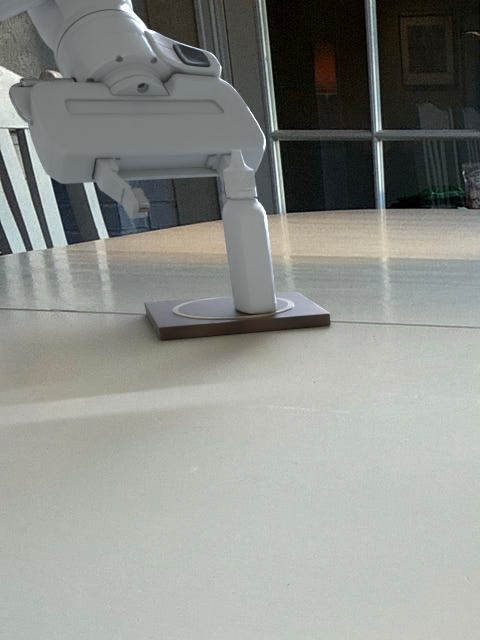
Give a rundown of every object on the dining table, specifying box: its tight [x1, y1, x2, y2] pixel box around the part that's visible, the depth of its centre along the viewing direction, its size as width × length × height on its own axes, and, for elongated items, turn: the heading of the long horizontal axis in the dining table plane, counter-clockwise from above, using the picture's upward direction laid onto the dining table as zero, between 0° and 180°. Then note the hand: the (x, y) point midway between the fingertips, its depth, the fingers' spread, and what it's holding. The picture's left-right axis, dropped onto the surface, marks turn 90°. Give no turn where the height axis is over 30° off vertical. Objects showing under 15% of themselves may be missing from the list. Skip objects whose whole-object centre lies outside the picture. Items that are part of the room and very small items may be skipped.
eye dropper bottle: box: [221, 150, 277, 314], centre depth 74 cm, size 4×6×12 cm
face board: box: [143, 290, 332, 341], centre depth 79 cm, size 14×12×1 cm
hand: (191, 209), depth 79 cm, fingers open, 8 cm apart
